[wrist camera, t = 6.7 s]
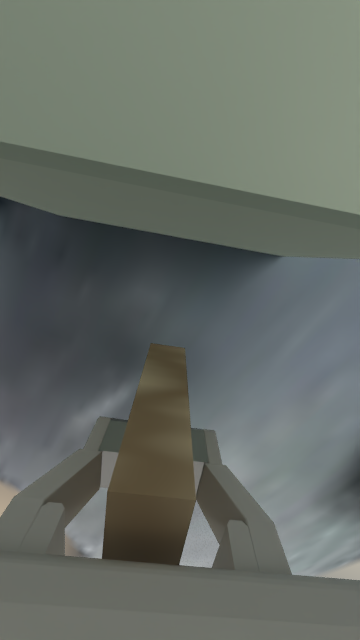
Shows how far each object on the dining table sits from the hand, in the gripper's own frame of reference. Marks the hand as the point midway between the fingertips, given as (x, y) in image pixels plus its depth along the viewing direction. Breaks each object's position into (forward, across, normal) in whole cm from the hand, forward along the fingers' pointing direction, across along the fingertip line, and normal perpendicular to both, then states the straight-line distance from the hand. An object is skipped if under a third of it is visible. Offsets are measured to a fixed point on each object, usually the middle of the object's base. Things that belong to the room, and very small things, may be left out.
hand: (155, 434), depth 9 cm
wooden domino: (+4, 0, 0) cm, 4 cm away
